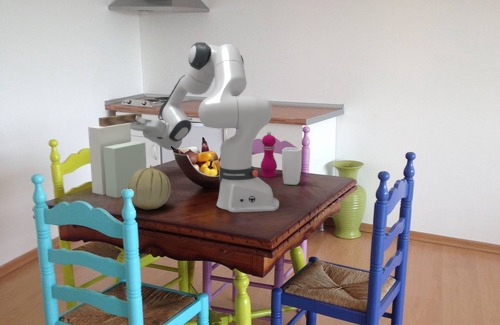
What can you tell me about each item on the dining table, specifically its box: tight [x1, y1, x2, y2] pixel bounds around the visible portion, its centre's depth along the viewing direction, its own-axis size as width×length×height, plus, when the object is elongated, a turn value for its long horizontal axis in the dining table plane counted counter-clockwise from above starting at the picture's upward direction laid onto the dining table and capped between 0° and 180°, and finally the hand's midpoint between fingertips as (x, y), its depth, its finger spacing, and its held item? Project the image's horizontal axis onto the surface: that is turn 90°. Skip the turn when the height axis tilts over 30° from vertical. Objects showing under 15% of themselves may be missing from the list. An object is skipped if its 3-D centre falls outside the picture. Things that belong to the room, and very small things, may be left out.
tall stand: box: [87, 123, 132, 196], centre depth 211 cm, size 16×6×26 cm, turn 146°
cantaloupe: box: [128, 165, 172, 211], centre depth 186 cm, size 15×15×15 cm
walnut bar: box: [98, 112, 143, 127], centre depth 212 cm, size 20×3×3 cm, turn 146°
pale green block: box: [103, 140, 147, 199], centre depth 207 cm, size 16×6×19 cm, turn 146°
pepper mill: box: [260, 131, 278, 179], centre depth 233 cm, size 7×7×20 cm
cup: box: [281, 146, 303, 186], centre depth 220 cm, size 7×7×15 cm
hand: (131, 116), depth 217 cm, fingers closed on walnut bar, 3 cm apart
